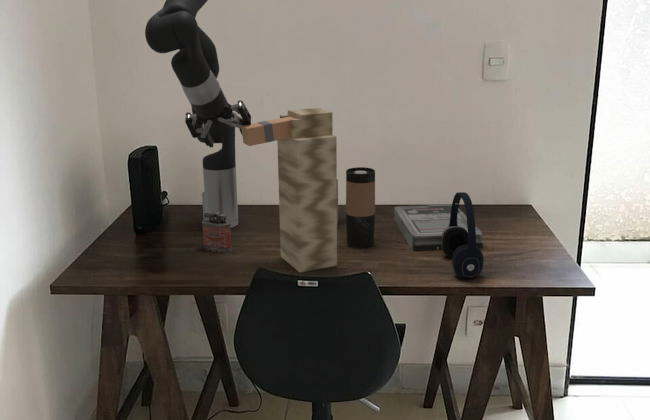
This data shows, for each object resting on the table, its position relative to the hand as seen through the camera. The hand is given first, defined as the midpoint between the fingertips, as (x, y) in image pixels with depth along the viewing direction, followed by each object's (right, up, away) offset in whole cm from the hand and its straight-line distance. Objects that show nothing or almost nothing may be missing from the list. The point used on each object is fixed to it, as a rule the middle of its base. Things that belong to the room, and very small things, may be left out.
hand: (229, 141), depth 166 cm
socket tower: (+19, -29, +9) cm, 36 cm away
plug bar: (+11, 0, -4) cm, 12 cm away
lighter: (-5, -27, +18) cm, 33 cm away
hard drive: (+53, -23, +29) cm, 65 cm away
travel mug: (+32, -25, +21) cm, 46 cm away
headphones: (+56, -30, +4) cm, 63 cm away
